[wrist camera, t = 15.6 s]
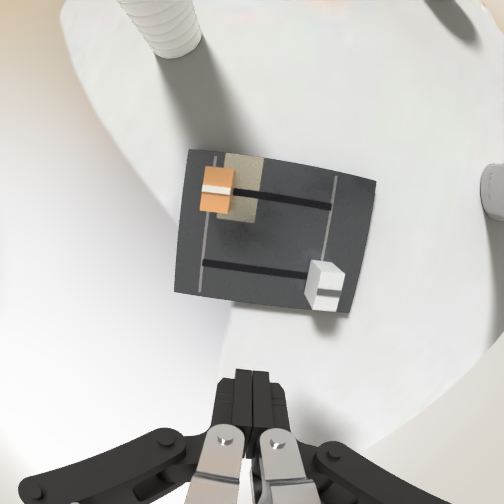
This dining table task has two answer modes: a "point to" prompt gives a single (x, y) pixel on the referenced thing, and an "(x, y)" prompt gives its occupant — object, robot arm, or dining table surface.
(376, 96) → the dining table surface
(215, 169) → the fader orange
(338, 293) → the white banded fader cap
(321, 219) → the console
